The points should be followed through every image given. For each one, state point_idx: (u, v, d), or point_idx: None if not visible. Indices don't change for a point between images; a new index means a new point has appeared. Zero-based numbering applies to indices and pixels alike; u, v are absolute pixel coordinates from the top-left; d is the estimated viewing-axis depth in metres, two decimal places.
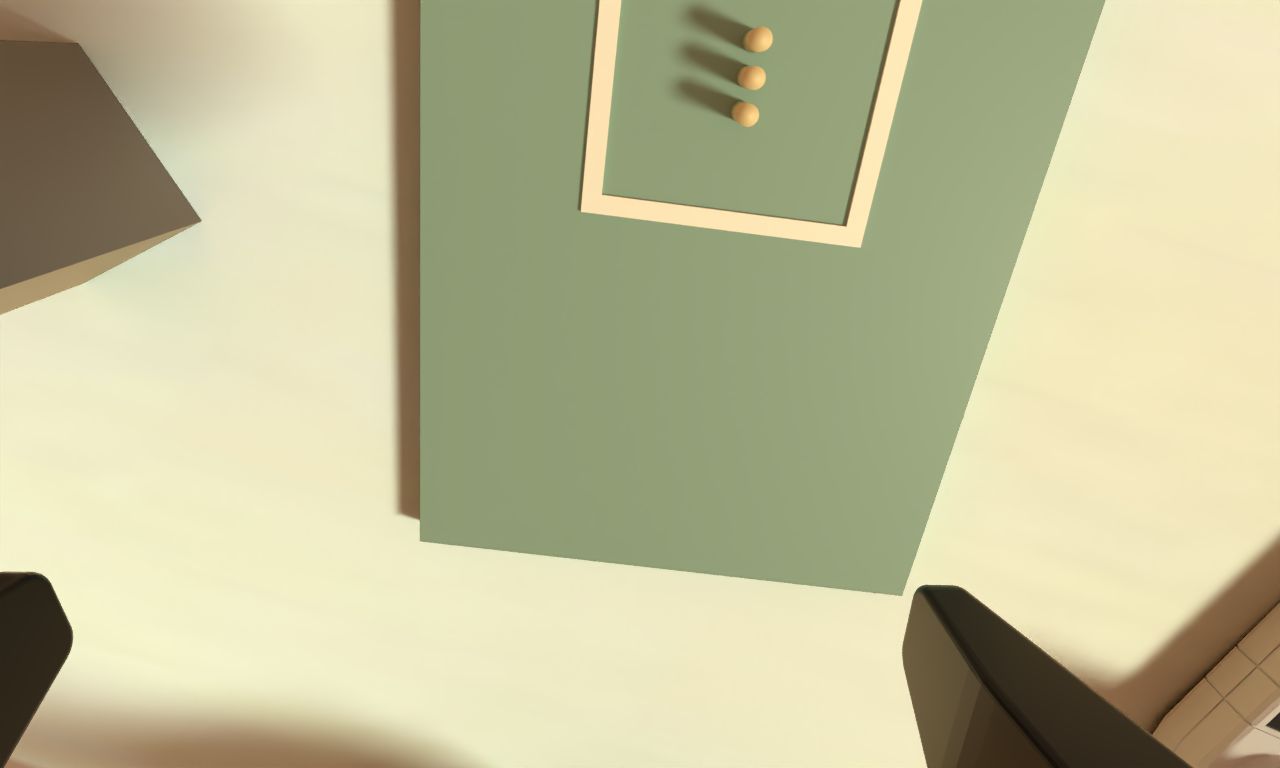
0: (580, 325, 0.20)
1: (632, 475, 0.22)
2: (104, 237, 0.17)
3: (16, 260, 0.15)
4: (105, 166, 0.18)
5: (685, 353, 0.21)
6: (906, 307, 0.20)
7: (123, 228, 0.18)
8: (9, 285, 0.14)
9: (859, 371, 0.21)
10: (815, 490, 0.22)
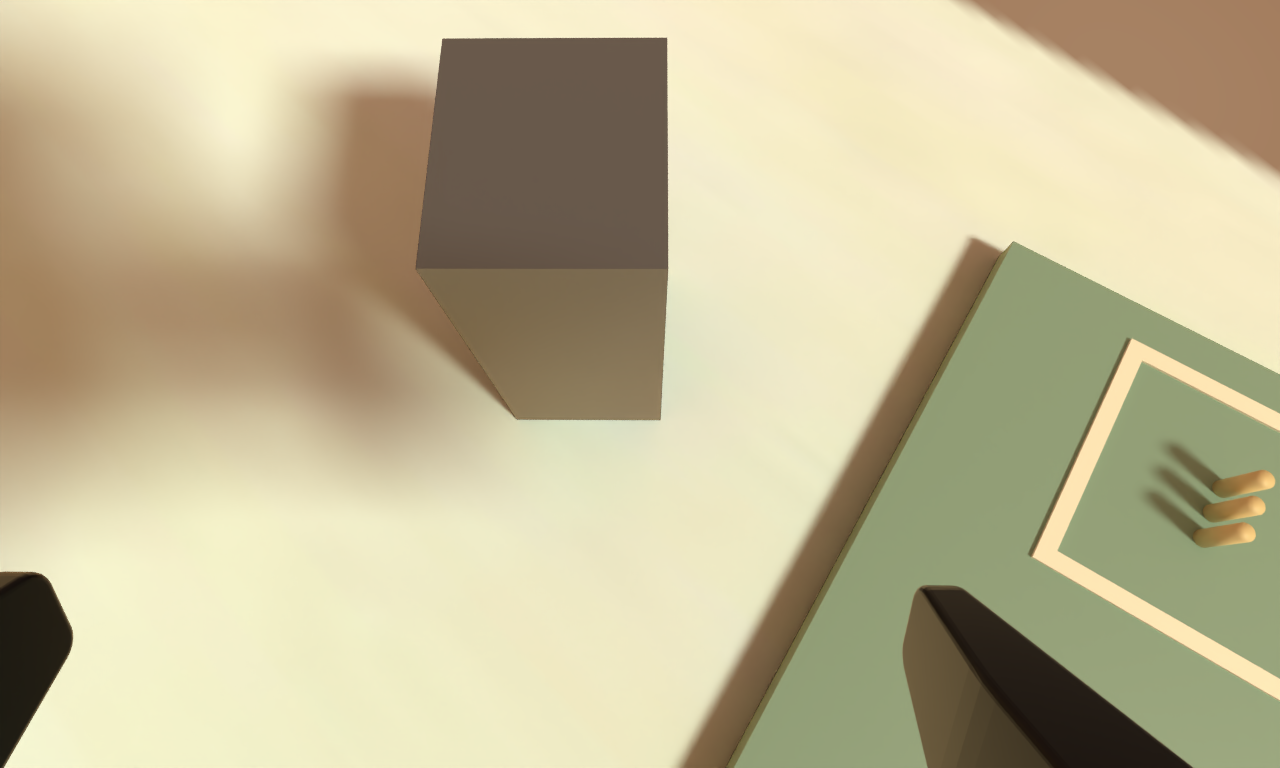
0: None
1: None
2: None
3: None
4: None
5: None
6: None
7: None
8: (662, 340, 0.16)
9: None
10: None
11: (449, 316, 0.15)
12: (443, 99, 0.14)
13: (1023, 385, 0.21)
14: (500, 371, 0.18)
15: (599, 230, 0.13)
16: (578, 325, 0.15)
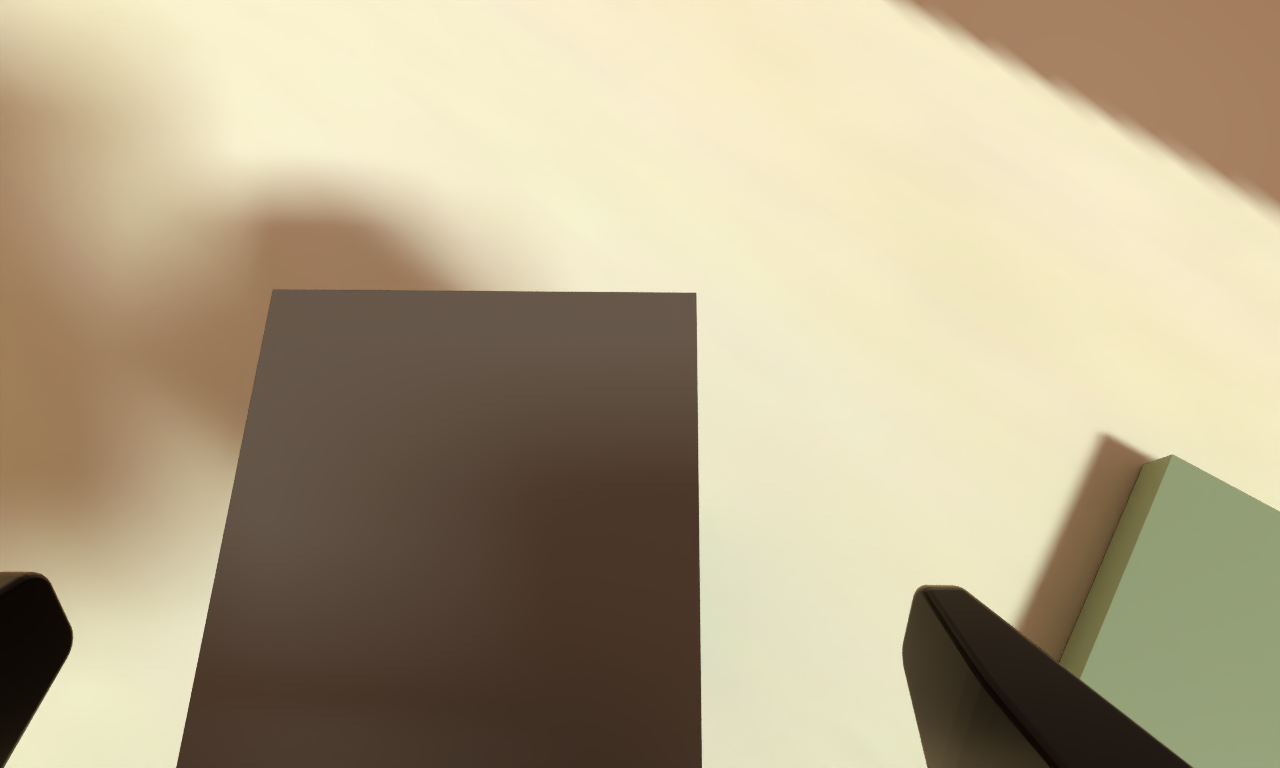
0: None
1: None
2: None
3: None
4: None
5: None
6: None
7: None
8: None
9: None
10: None
11: None
12: (260, 424, 0.07)
13: (1204, 687, 0.14)
14: None
15: (556, 748, 0.06)
16: None
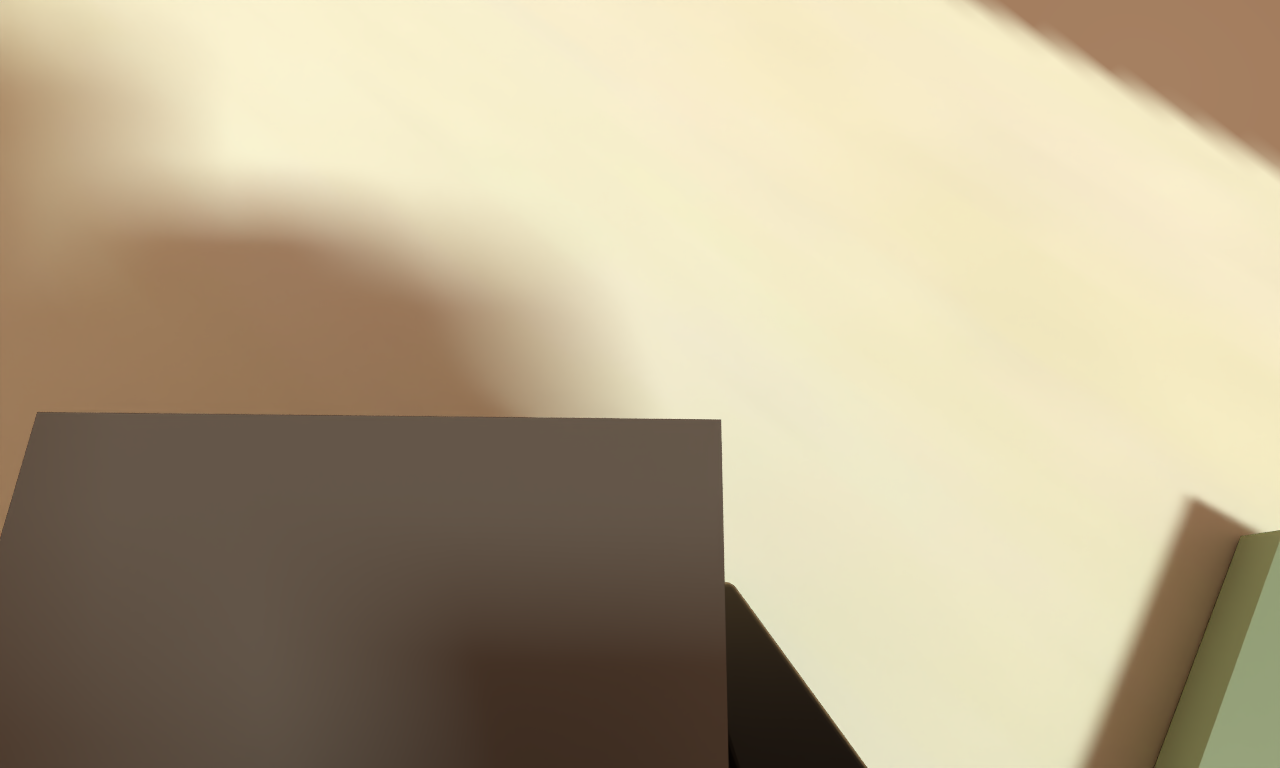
0: None
1: None
2: None
3: None
4: None
5: None
6: None
7: None
8: None
9: None
10: None
11: None
12: None
13: None
14: None
15: None
16: None
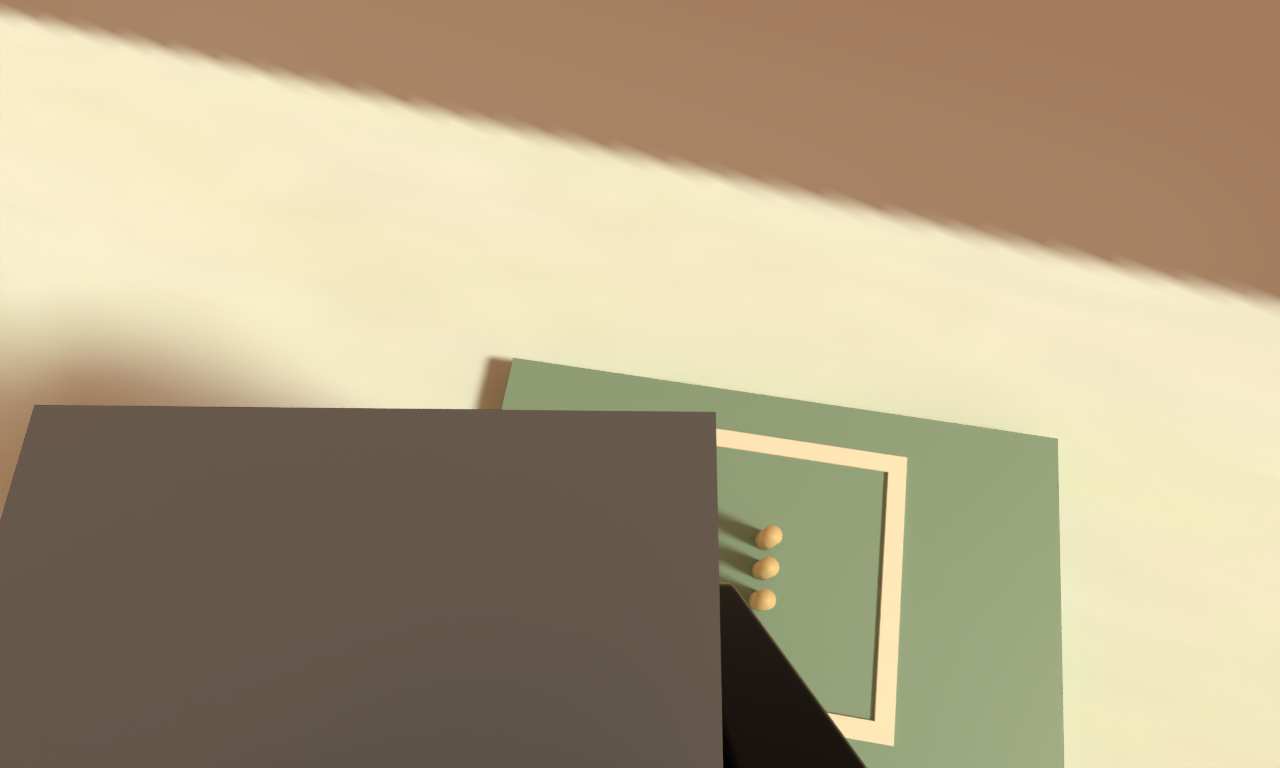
0: None
1: None
2: None
3: None
4: None
5: None
6: None
7: None
8: None
9: None
10: None
11: None
12: None
13: None
14: None
15: None
16: None
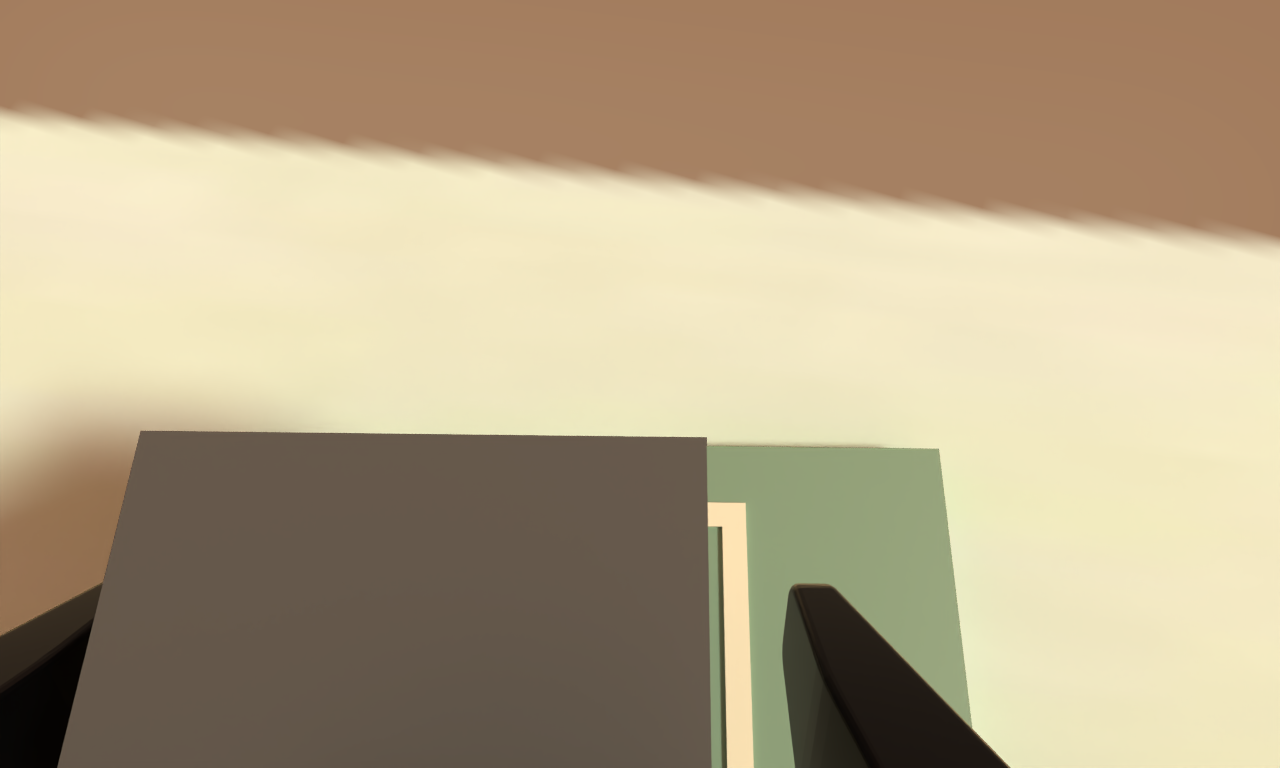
0: None
1: None
2: None
3: None
4: None
5: None
6: None
7: None
8: None
9: None
10: None
11: None
12: (111, 629, 0.05)
13: None
14: None
15: None
16: None
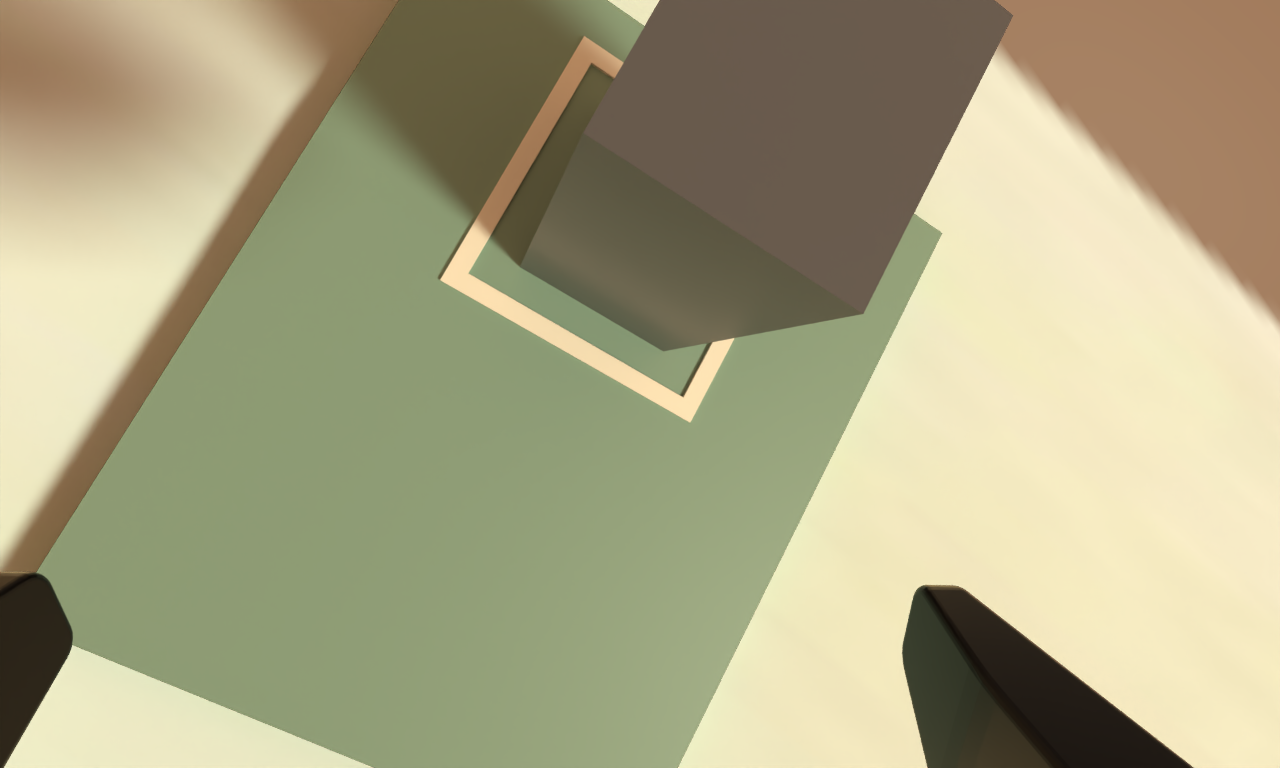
0: (384, 396, 0.18)
1: (363, 604, 0.18)
2: None
3: None
4: None
5: (486, 470, 0.18)
6: (715, 499, 0.20)
7: None
8: (760, 331, 0.13)
9: (656, 553, 0.19)
10: (571, 688, 0.19)
11: (563, 181, 0.11)
12: None
13: (454, 86, 0.18)
14: (554, 239, 0.14)
15: (816, 218, 0.10)
16: (694, 274, 0.12)
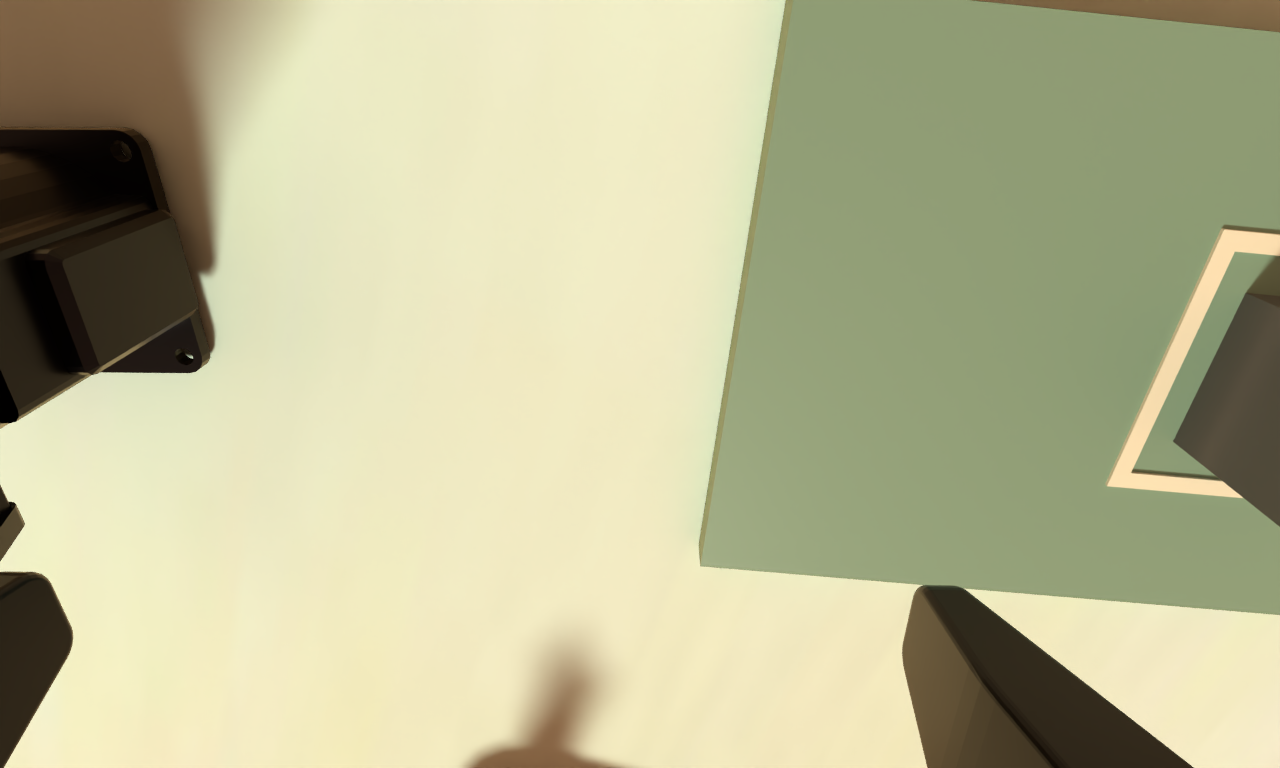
0: (1089, 226, 0.18)
1: (879, 288, 0.18)
2: None
3: None
4: None
5: (1029, 340, 0.19)
6: (1035, 526, 0.22)
7: None
8: None
9: (976, 498, 0.21)
10: (841, 476, 0.21)
11: None
12: None
13: None
14: None
15: None
16: None
